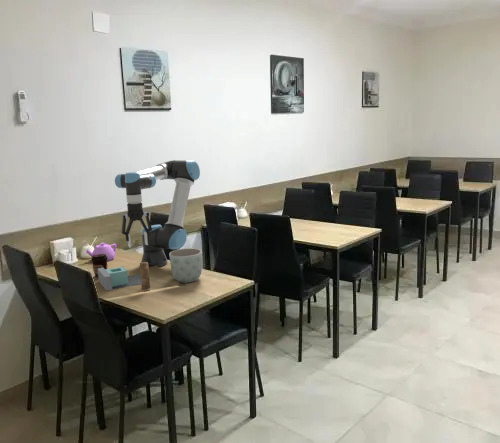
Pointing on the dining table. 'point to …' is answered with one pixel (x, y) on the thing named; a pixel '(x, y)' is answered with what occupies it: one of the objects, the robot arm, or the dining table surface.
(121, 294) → the dining table surface
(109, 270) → the block
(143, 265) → the dowel
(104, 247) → the teapot
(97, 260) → the coffee cup
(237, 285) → the dining table surface
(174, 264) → the planter
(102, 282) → the jig
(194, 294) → the dining table surface
